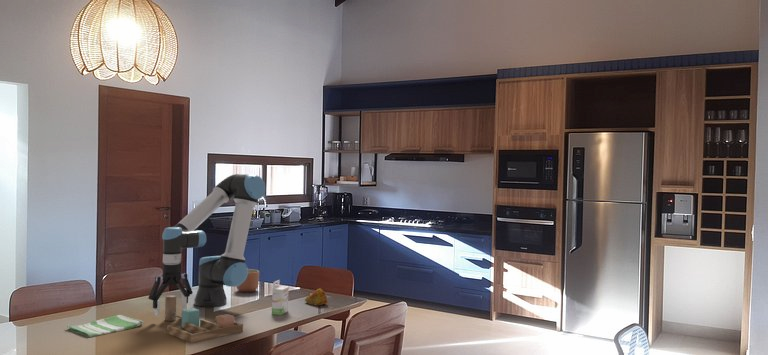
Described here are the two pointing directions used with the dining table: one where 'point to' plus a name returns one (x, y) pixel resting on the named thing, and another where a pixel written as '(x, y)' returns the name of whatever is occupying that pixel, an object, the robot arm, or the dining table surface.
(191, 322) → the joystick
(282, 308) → the ink box
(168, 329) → the oak lanes
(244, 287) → the planter
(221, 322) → the terracotta block
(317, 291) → the rock
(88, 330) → the dish towel
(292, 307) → the dining table surface
